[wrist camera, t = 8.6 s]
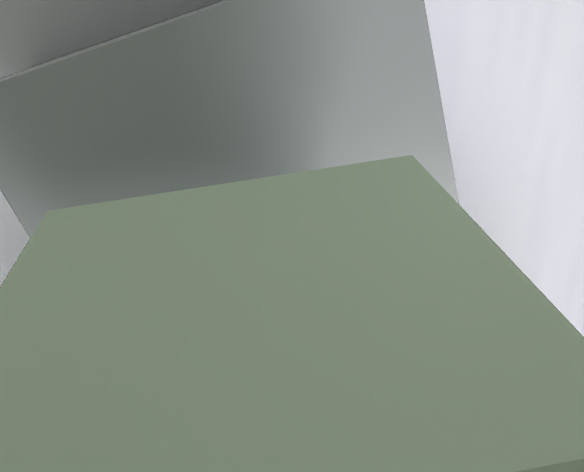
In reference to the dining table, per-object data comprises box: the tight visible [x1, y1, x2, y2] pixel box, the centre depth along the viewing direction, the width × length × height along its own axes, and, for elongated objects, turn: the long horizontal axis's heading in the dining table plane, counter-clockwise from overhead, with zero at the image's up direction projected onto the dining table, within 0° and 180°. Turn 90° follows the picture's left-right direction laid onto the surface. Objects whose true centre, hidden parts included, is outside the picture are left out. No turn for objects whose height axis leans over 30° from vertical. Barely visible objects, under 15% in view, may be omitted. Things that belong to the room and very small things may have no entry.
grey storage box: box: [0, 0, 459, 238], centre depth 16 cm, size 11×11×5 cm
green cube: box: [0, 155, 584, 472], centre depth 8 cm, size 6×6×6 cm
